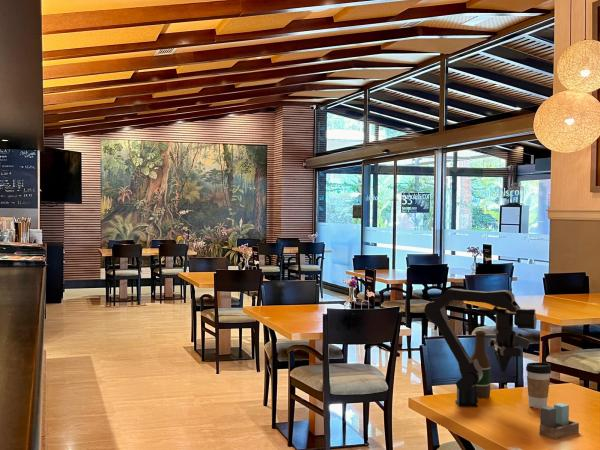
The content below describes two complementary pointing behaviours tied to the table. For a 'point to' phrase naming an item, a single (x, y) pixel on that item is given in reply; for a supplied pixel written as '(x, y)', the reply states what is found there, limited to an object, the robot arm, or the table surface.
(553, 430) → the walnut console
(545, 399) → the coffee cup
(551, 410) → the dark gray block
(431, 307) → the robot arm
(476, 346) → the beer bottle
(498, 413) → the table surface
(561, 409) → the pale blue tall block
